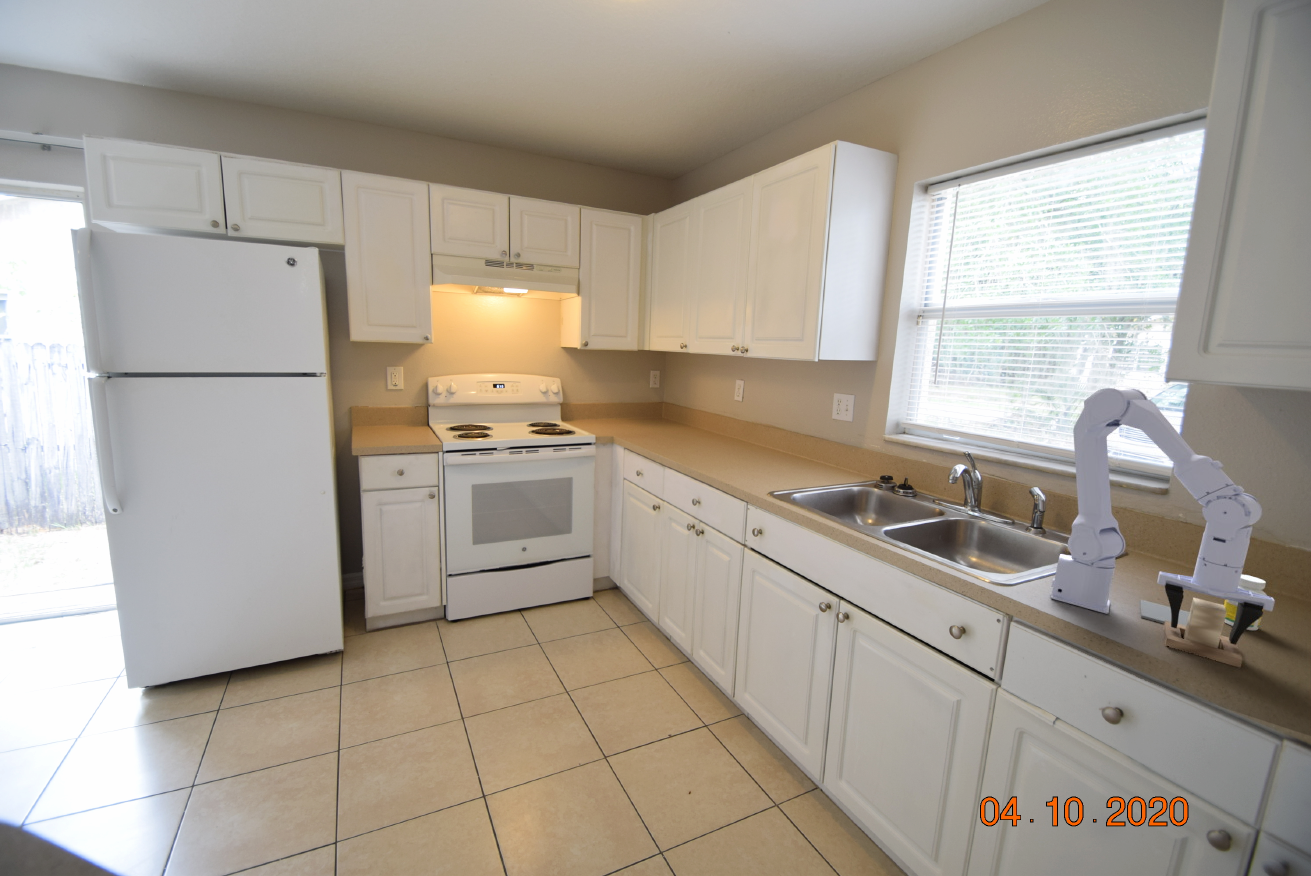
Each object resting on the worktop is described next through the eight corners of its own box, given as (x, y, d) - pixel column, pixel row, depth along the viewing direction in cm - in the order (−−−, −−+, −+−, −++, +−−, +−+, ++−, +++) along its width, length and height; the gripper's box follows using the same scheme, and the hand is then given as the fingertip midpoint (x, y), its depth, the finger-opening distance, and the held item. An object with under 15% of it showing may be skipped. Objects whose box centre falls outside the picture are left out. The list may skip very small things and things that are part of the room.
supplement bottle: (1241, 631, 109) (1254, 583, 108) (1212, 617, 115) (1223, 572, 113) (1266, 631, 110) (1279, 584, 108) (1236, 617, 115) (1247, 572, 114)
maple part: (1184, 646, 102) (1195, 604, 100) (1183, 638, 105) (1193, 597, 103) (1215, 655, 99) (1226, 612, 98) (1213, 646, 102) (1223, 604, 101)
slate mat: (1140, 617, 112) (1141, 615, 112) (1140, 601, 120) (1140, 599, 120) (1210, 636, 106) (1211, 633, 106) (1205, 618, 114) (1205, 616, 114)
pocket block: (1165, 645, 101) (1167, 638, 101) (1163, 627, 109) (1164, 620, 108) (1240, 667, 96) (1242, 659, 95) (1232, 646, 103) (1234, 638, 102)
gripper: (1165, 555, 101) (1149, 626, 103) (1285, 581, 92) (1264, 658, 94) (1164, 545, 106) (1148, 613, 109) (1276, 569, 97) (1257, 642, 99)
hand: (1202, 633), depth 102 cm, fingers open, 7 cm apart
